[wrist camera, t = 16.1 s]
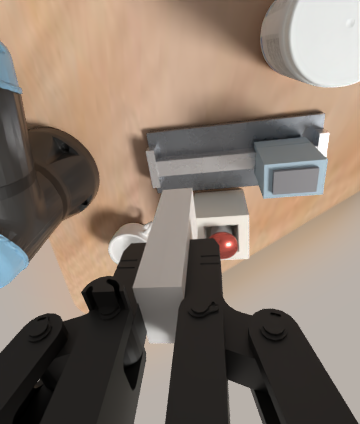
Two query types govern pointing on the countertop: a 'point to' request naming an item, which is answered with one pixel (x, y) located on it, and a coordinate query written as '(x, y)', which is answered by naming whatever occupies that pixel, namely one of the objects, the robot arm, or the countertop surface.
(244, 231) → the white push button housing
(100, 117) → the countertop surface
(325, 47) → the supplement tub
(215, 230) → the plunger
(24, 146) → the robot arm
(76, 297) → the countertop surface
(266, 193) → the carriage
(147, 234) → the teacup
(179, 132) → the rail
